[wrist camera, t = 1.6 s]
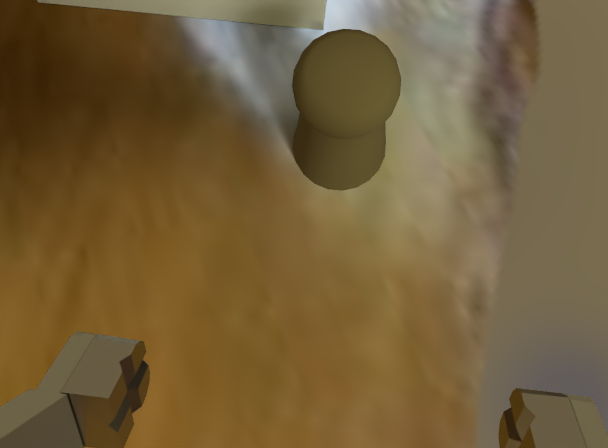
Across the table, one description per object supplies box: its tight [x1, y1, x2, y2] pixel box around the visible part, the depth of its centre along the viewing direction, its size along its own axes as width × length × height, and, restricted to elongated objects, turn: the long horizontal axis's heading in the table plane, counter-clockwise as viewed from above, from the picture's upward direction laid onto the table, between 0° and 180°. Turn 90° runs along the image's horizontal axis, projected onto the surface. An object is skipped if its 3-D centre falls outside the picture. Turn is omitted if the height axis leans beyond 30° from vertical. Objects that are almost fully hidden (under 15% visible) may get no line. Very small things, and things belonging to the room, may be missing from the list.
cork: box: [292, 29, 401, 190], centre depth 29 cm, size 6×6×11 cm
